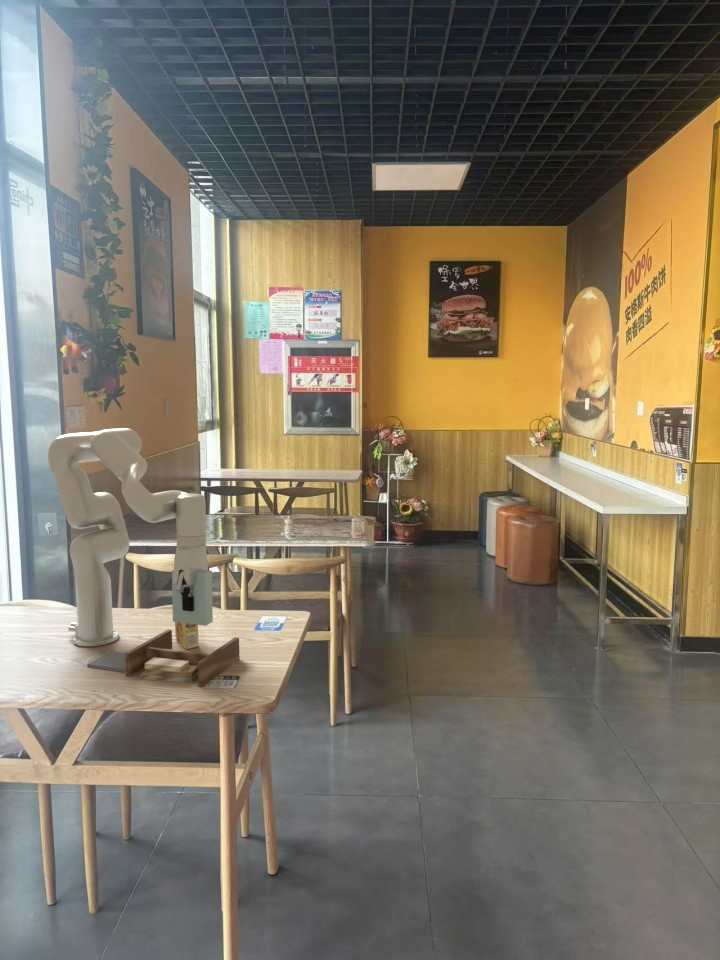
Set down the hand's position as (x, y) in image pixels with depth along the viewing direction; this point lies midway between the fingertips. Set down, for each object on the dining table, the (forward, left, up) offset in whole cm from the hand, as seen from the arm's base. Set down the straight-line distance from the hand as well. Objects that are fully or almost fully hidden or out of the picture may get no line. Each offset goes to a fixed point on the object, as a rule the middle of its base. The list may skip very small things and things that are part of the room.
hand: (192, 607), depth 191 cm
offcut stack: (+1, -12, -15) cm, 19 cm away
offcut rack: (+1, -6, -14) cm, 15 cm away
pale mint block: (0, 0, -4) cm, 4 cm away
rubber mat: (-17, -8, -14) cm, 24 cm away
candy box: (-8, +10, -15) cm, 20 cm away
